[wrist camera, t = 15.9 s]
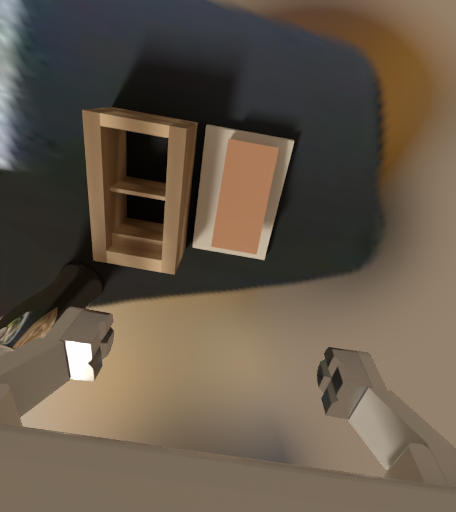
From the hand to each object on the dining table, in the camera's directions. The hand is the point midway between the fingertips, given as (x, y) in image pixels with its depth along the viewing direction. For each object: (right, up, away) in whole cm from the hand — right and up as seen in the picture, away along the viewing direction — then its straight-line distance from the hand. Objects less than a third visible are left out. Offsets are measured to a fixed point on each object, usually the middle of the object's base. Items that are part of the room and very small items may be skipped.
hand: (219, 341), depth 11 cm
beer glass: (-20, 0, +31) cm, 36 cm away
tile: (+2, +9, +21) cm, 23 cm away
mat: (+2, +10, +23) cm, 25 cm away
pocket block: (-8, +11, +23) cm, 27 cm away
